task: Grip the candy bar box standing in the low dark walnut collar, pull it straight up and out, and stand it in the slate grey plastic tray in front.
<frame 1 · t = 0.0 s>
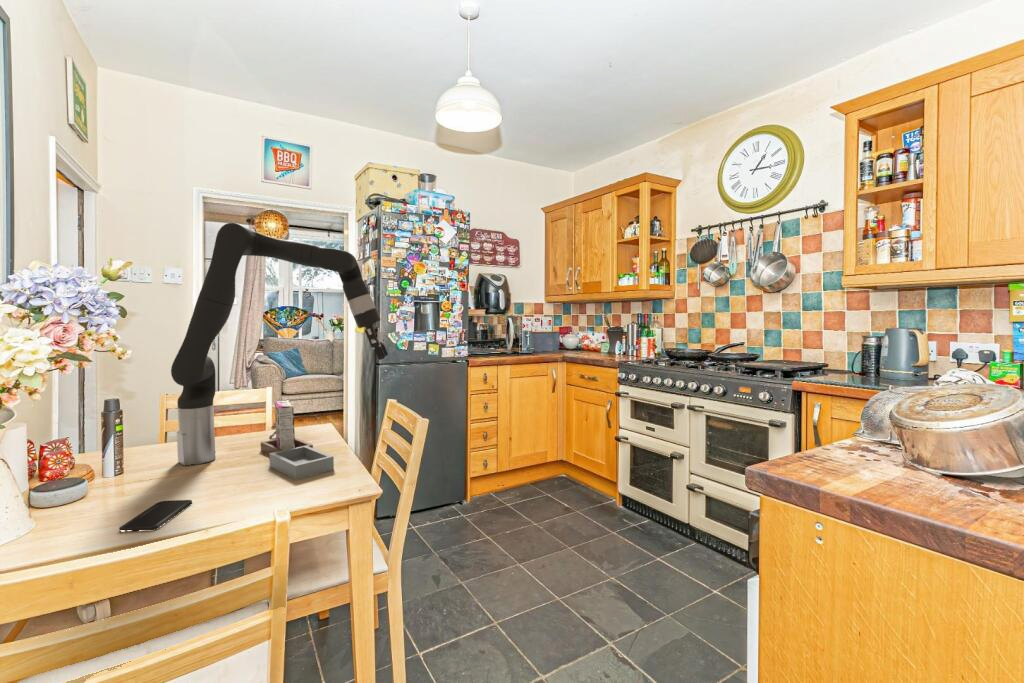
hand: (383, 357, 156), 31 cm above the table, tool tilted 20°, fingers open, 8 cm apart
phone: (158, 518, 110), on the table
walnut collar: (286, 452, 158), on the table
grey tray: (301, 468, 143), on the table
elephant figurine: (284, 437, 177), on the table
candy bar box: (285, 453, 158), resting in walnut collar
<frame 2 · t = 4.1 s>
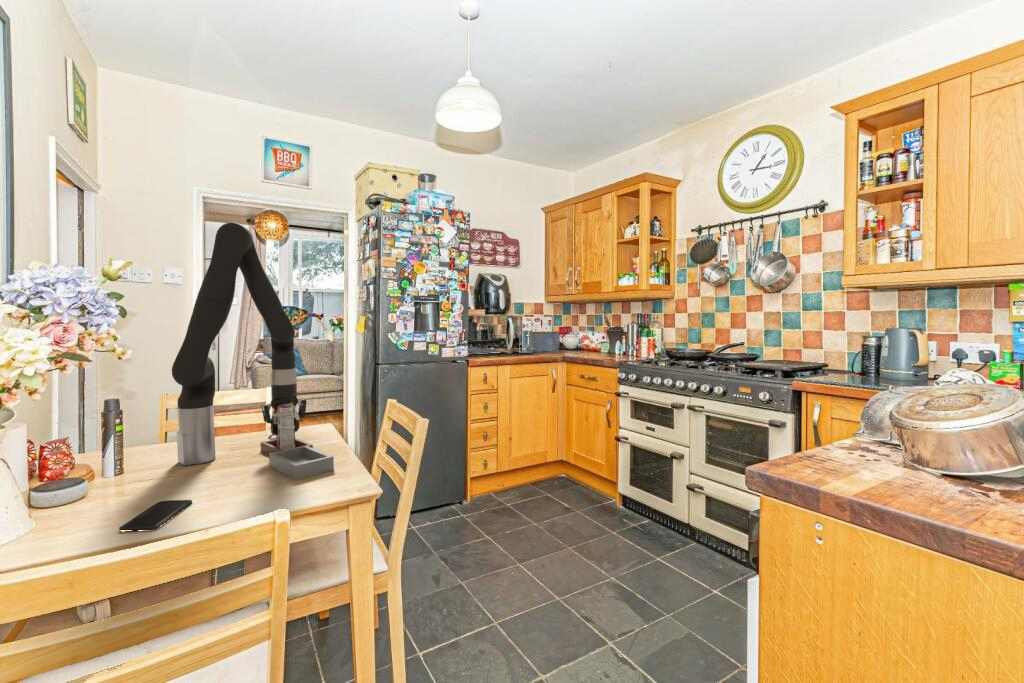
hand: (285, 432, 158), 7 cm above the table, tool pointing down, fingers closed on candy bar box, 6 cm apart
candy bar box: (285, 452, 158), resting in walnut collar, touching gripper
everything else where it was.
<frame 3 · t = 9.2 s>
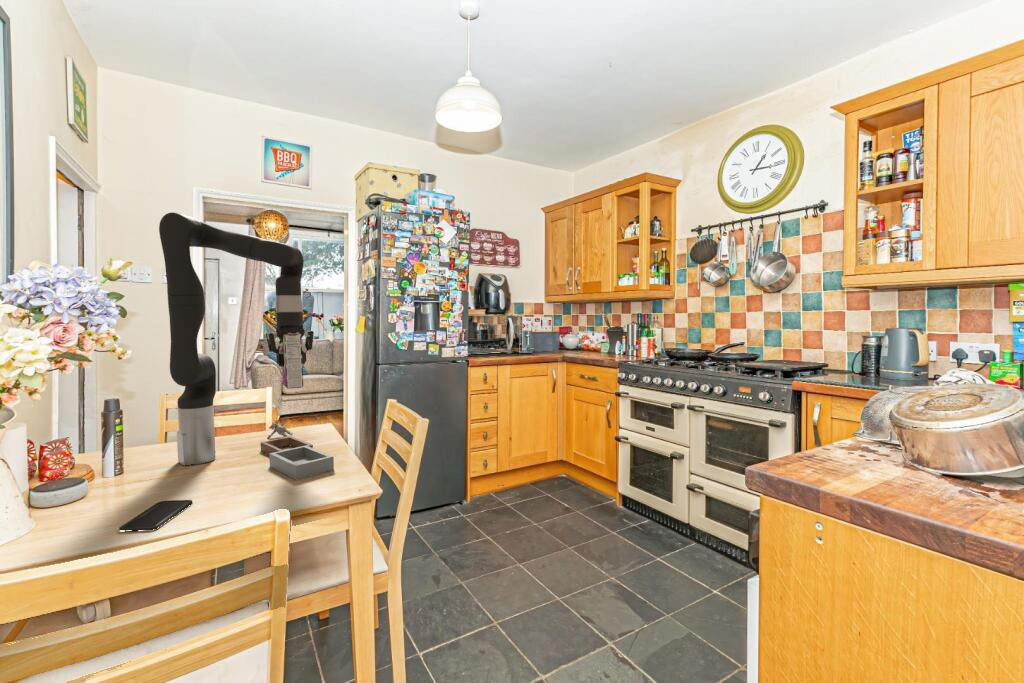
hand: (291, 365, 148), 30 cm above the table, tool pointing down, fingers closed on candy bar box, 6 cm apart
candy bar box: (292, 386, 149), point 23 cm above the table, touching gripper
everything else where it was.
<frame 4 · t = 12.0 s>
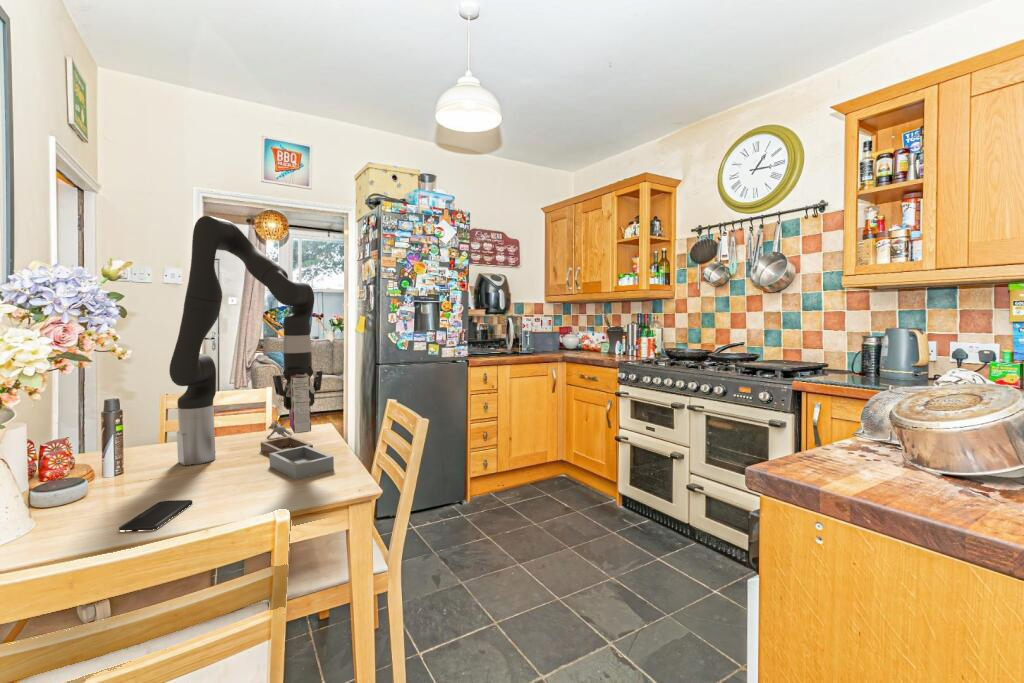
hand: (299, 407, 142), 18 cm above the table, tool pointing down, fingers closed on candy bar box, 6 cm apart
candy bar box: (299, 429, 142), point 12 cm above the table, touching gripper
everything else where it was.
when the fingers open (9 cm above the table, at t = 14.3 s): candy bar box drops 1 cm, resting on grey tray.
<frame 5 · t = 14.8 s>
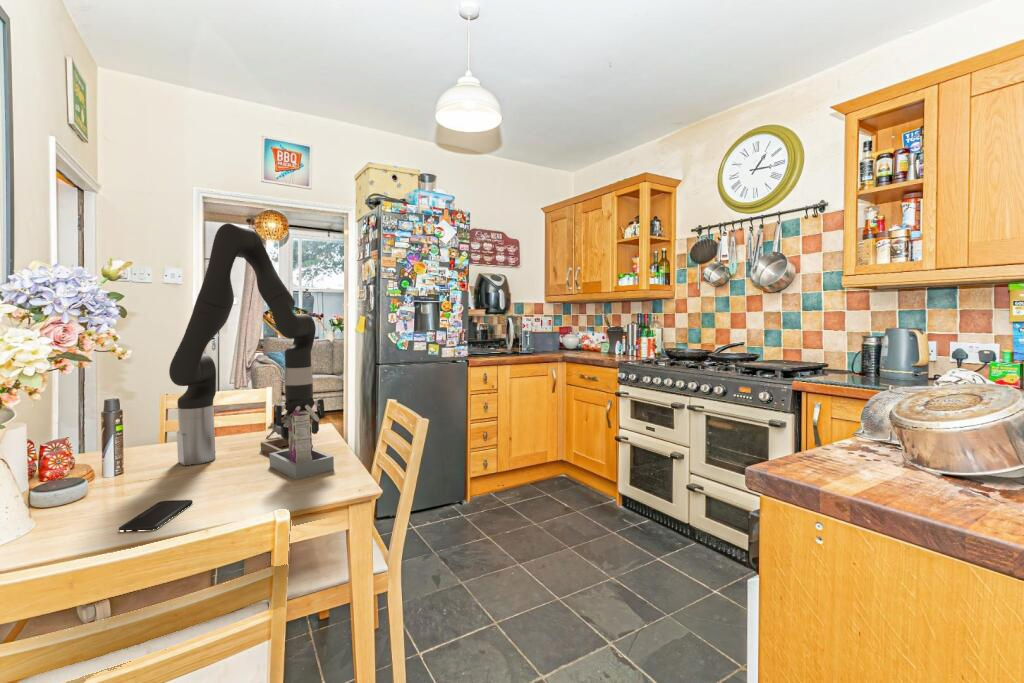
hand: (300, 436, 142), 10 cm above the table, tool pointing down, fingers open, 8 cm apart
candy bar box: (300, 465, 143), point 1 cm above the table, touching grey tray
everything else where it was.
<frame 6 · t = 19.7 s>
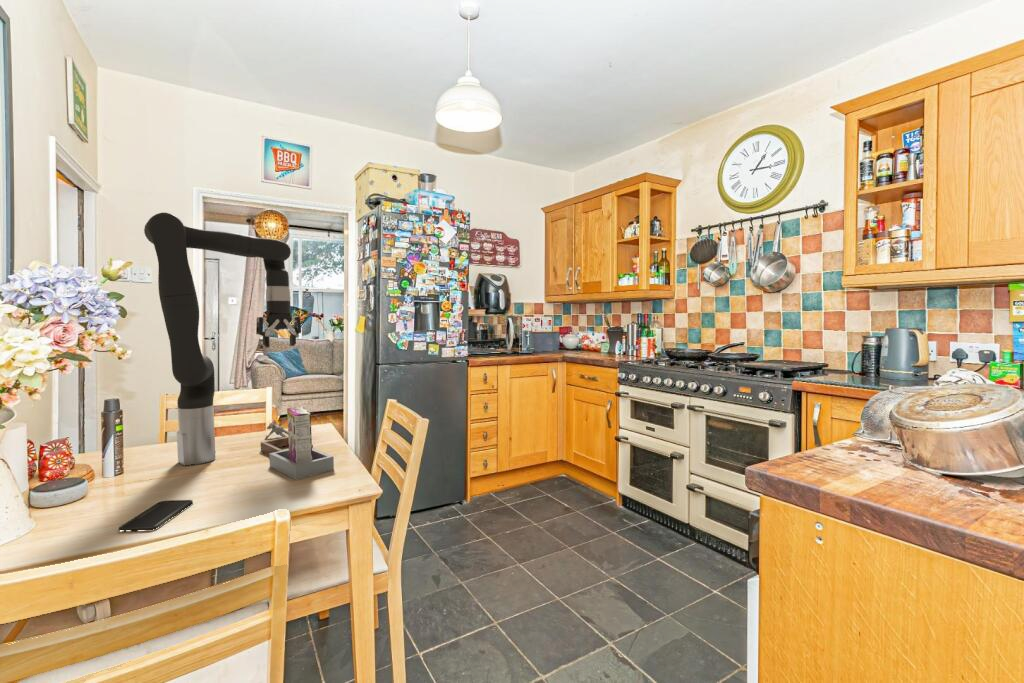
hand: (279, 346, 167), 34 cm above the table, tool pointing down, fingers open, 8 cm apart
at the end: candy bar box inside the target area (0.4 cm from its centre), point 0.8 cm above the table; candy bar box tilted 0°; the gripper is holding nothing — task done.
